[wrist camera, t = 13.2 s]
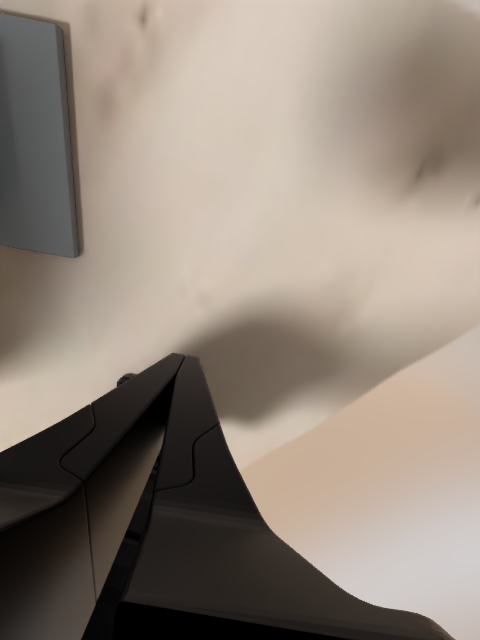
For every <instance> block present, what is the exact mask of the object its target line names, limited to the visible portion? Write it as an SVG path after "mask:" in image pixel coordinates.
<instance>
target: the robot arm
mask: <svg viewBox="0 0 480 640" xmlns="http://www.w3.org/2000/svg"><path fill="white" fill-rule="evenodd" d="M122 382H123V383H122ZM0 640H455V639H454V638H452V637H451V636H450V635H449V634H448V633H447V632H446V631H445V630H444V629H443V628H442V627H441V626H439V625H438V624H437V623H435V622H434V621H433V620H431V619H430V618H427V617H425V616H422V615H420V614H418V613H413V612H409V611H403V610H395V609H388V608H383V607H379V606H375V605H372V604H370V603H367V602H365V601H362V600H360V599H358V598H356V597H354V596H353V595H351V594H349V593H347V592H346V591H344V590H343V589H342V588H340V587H339V586H337V585H336V584H335V583H334V582H332V581H331V580H330V579H329V578H328V577H326V576H325V575H324V574H323V573H322V572H320V571H319V570H318V569H317V568H315V567H314V566H313V565H312V564H311V563H309V562H308V561H307V560H306V559H305V558H303V557H302V556H301V555H300V554H299V553H297V552H296V551H295V550H294V549H292V548H291V547H290V546H289V545H287V544H286V543H285V542H284V541H283V540H281V539H280V538H279V537H278V536H277V535H276V534H275V533H274V532H273V531H272V530H271V529H270V528H269V526H268V525H267V523H266V522H265V521H264V519H263V517H262V516H261V514H260V512H259V510H258V508H257V506H256V504H255V502H254V500H253V498H252V496H251V494H250V492H249V490H248V488H247V486H246V484H245V482H244V480H243V478H242V476H241V474H240V472H239V470H238V468H237V466H236V464H235V462H234V459H233V457H232V455H231V453H230V451H229V448H228V445H227V443H226V440H225V437H224V434H223V431H222V428H221V426H220V422H219V419H218V416H217V413H216V410H215V407H214V403H213V400H212V397H211V394H210V391H209V388H208V385H207V381H206V378H205V375H204V372H203V369H202V366H201V363H200V359H199V357H196V356H190V355H187V356H186V357H185V355H184V354H178V353H172V354H170V355H168V356H167V357H165V358H163V359H162V360H160V361H159V362H157V363H155V364H154V365H152V366H150V367H149V368H147V369H146V370H144V371H142V372H141V373H139V374H137V375H136V376H134V377H133V378H127V377H121V378H120V379H119V380H118V382H117V387H116V388H115V389H113V390H111V391H110V392H108V393H107V394H105V395H103V396H102V397H100V398H98V399H97V400H95V401H94V402H92V403H91V405H90V404H89V405H87V406H85V407H84V408H82V409H80V410H79V411H77V412H75V413H74V414H72V415H70V416H69V417H67V418H65V419H63V420H62V421H60V422H58V423H56V424H54V425H53V426H51V427H49V428H47V429H45V430H43V431H41V432H39V433H37V434H36V435H34V436H32V437H30V438H28V439H26V440H24V441H22V442H20V443H18V444H16V445H14V446H12V447H10V448H8V449H6V450H4V451H2V452H0Z"/></svg>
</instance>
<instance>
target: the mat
mask: <svg viewBox="0 0 480 640" xmlns="http://www.w3.org/2000/svg"><path fill="white" fill-rule="evenodd" d="M0 245H2V246H8V247H13V248H19V249H25V250H30V251H36V252H42V253H47V254H53V255H59V256H64V257H70V258H76V257H78V256H79V251H78V238H77V224H76V210H75V197H74V183H73V170H72V156H71V143H70V129H69V116H68V102H67V89H66V75H65V62H64V48H63V34H62V29H61V28H59V27H58V26H57V25H56V24H52V23H47V22H42V21H38V20H33V19H28V18H23V17H18V16H13V15H8V14H3V13H0Z"/></svg>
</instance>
